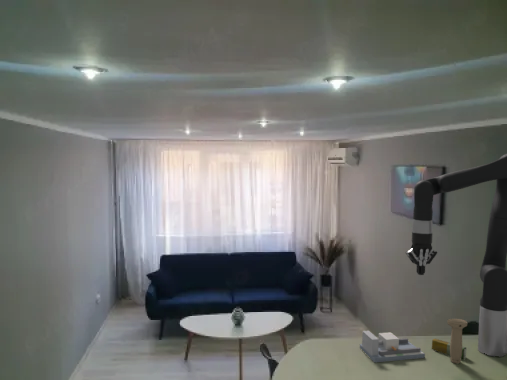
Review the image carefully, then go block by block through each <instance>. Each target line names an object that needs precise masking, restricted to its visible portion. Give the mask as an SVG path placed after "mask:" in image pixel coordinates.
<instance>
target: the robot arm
mask: <svg viewBox="0 0 507 380" xmlns="http://www.w3.org/2000/svg"><path fill="white" fill-rule="evenodd" d="M495 180H496V182H495V184H496V185H495V192H494V195H493V199H492V203H491V208H490V214H489V220H488V225H487V226H488V227H487V234H486V244H485V245H486V246H485V251H484V252H485V253H484V257H483V259H482V263H481V266H480V270H479V277H480V280H481V282H482V285H483V286H482V296H481V297H480V300H479V317H478V318H479V319H478V320H479V321H478V338H477V350H478V352H480V353H482V354H484V353H485V354H484V355H486V354H487V356H489V357H495V356H499V357H500V358H501V357H504V356H506V355H507V267H506V265H507V264H506V263H507V153H505V154H503V155H501V156H500V157H499V159H496V160H494V161H492V162H489V163H486V164H481V165H478V166H472V167H469V168H463V169H460V170H455V171H451V172H448V173H445V174H442V175H439V176H435V177H431V178H426V179H422V180H419V181H417V182H416V183H415V185H414V188H413V197H414V198H413V199H414V201H413V204H414V206H413V214H412V215H413V217H412V226H411V227H412V228H411V247H410V249H409V250H407V251H405V254H406V256H407V257H408V258H409V260H410V262H411V263H412V264H415V265H416V273H417V275H419V276H424V275H425V272H426V265H429V264H431V263H432V261H433V260H434V258H435V257H436V256H437V255H438V252H437V251H436V250H434V249H433V246H432V243H433V229H434V228H433V227H434V225H433V217H434V216H433V215H434V214H433V202H434V196H435V195H439V194H443V193H451V192H454V191H458V190H462V189H465V188H468V187H472V186H476V185H479V184H482V183H485V182H491V181H495ZM499 357H498V358H499Z"/></svg>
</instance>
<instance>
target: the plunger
mask: <svg viewBox="0 0 507 380" xmlns="http://www.w3.org/2000/svg"><path fill="white" fill-rule="evenodd" d="M377 338H378V339H379V345H378V346H379V347H380V348H381V349H382V350H396V349H399V339H400V338H399V337H397V336H396V335H395V334H394V333H392V332H390V331H389V332H379V333H378V337H377Z"/></svg>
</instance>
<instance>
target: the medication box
mask: <svg viewBox="0 0 507 380" xmlns="http://www.w3.org/2000/svg"><path fill="white" fill-rule="evenodd" d="M432 349H434V350H433V351H435V350H436V352H439V353H441V354H445V355H448V356H450V342H448V341H446V340H443V339H439V338H433V339H432V341H431V350H432ZM466 358H467V347H465V346H463V345H462V356H461V360H466Z"/></svg>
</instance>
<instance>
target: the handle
mask: <svg viewBox="0 0 507 380" xmlns="http://www.w3.org/2000/svg"><path fill="white" fill-rule="evenodd" d="M446 323H447V325H448V326H450V327H451V333H450V342H449V343H450V355H449V356H450V359H449V360H450V362H451V363H453V364H460V363H461V362H462V359H461V356H462V346H463V329H464V328H466V327H468V321H467V320H464V319H461V318H449V319H447V321H446Z"/></svg>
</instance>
